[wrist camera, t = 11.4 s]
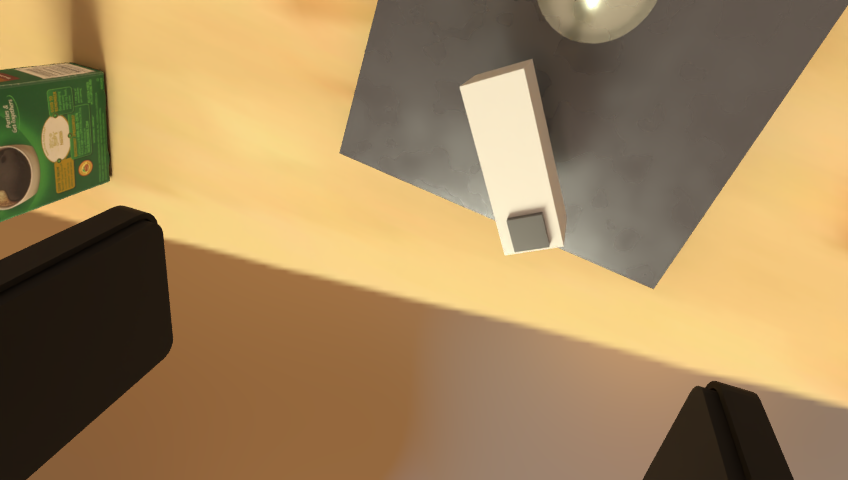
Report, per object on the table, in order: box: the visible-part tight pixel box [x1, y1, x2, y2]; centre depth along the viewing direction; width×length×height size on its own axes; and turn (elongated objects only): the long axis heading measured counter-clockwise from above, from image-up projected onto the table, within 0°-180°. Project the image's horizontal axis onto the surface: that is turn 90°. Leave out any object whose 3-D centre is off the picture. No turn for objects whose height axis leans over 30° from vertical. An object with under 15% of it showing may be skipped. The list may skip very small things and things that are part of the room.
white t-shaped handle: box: [460, 59, 567, 255], centre depth 22 cm, size 7×2×6 cm, turn 18°
